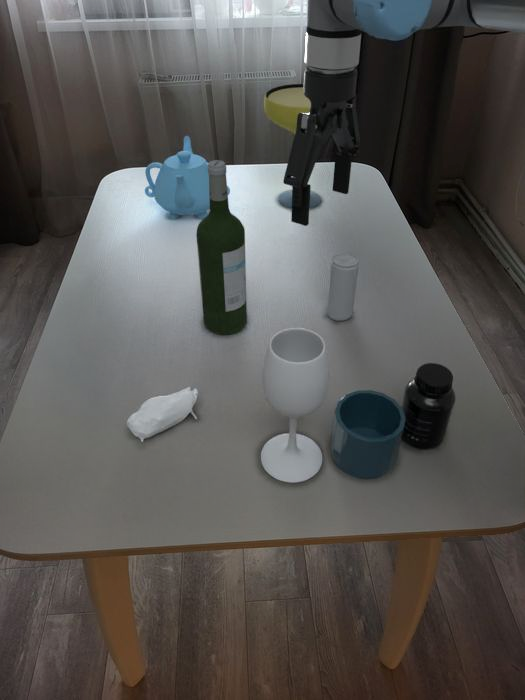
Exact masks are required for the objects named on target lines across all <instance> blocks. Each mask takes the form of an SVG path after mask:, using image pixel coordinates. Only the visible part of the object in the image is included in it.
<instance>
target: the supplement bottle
mask: <svg viewBox="0 0 525 700" xmlns="http://www.w3.org/2000/svg"><path fill="white" fill-rule="evenodd" d="M453 382H454V375H453V373H452V371H451V370H450V369H449V368H448V367H447V366H445V365H442V364H440V363H435V362H426V363H424V364H421V365H420V366H418V368H417V369H416V374H415V376H414V377H413V378H412V379H411V380H409V381H408V382H407V384H406V386H405V389H404V392H403V397H402V400H401V401H402V402H401V405H400V406H401V407H402V408H403V411H404V414H405V418H406V420H405V425H404V429H403V433H402V437H401V441H403V442H404V443H405V444H406V445H408V446H410V447H411V448H414V449H418V450H431V449H435V448H437V447H438V446H439V445H441V443H443V441H444V439H445V436H446V433H447V430H448V426H449V423H450V420H451V418H452V417H451V416H452V413H453V411H454V410H453V409H454V406H455V403H456V393H455V390H454V388H453Z"/></svg>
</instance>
